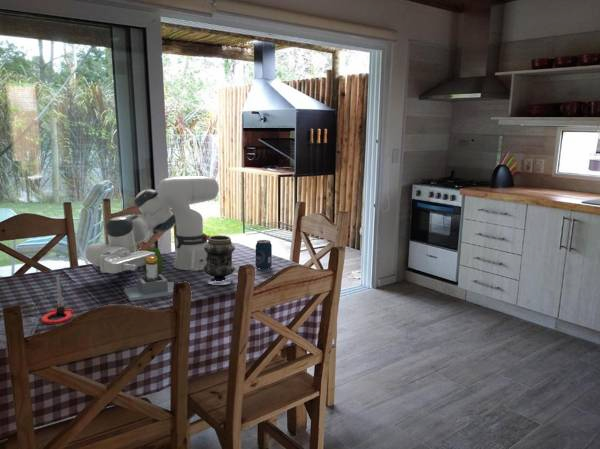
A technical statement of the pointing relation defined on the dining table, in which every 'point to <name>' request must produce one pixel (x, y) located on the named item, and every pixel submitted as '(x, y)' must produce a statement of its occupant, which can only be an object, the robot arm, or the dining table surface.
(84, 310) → the dining table surface
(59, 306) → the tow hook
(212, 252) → the ornate stone vase
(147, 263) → the white gold-topped cylinder
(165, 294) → the grey box on plate
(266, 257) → the soda can
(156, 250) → the avocado
